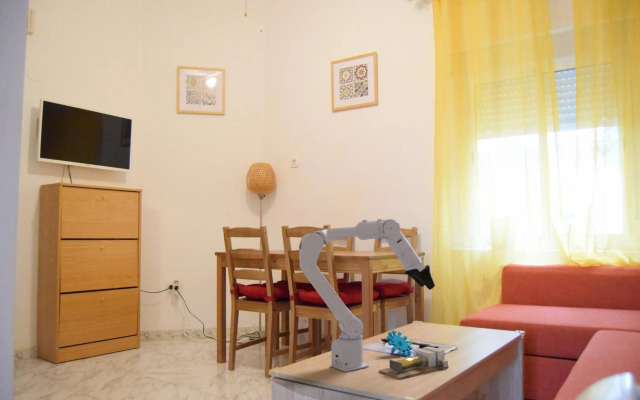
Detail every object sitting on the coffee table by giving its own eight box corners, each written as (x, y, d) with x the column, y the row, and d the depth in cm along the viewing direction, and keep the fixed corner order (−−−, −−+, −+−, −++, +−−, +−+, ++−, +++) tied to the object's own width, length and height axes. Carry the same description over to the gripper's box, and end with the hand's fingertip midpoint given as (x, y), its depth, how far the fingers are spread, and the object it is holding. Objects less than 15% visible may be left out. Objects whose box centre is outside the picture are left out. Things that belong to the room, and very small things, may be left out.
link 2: (442, 367, 145) (441, 352, 145) (422, 362, 151) (422, 347, 152) (449, 365, 146) (448, 351, 147) (429, 360, 153) (429, 346, 153)
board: (400, 379, 135) (400, 375, 135) (378, 372, 143) (378, 368, 143) (448, 367, 147) (448, 363, 147) (426, 361, 154) (426, 357, 154)
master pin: (400, 371, 139) (399, 362, 139) (389, 368, 142) (389, 359, 142) (424, 366, 144) (423, 357, 144) (413, 363, 148) (413, 354, 148)
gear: (396, 354, 158) (384, 328, 165) (387, 364, 160) (375, 339, 167) (421, 354, 163) (408, 329, 170) (411, 364, 166) (399, 339, 173)
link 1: (428, 368, 144) (428, 353, 144) (409, 363, 150) (409, 348, 151) (435, 366, 146) (435, 352, 146) (416, 361, 152) (416, 347, 152)
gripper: (421, 245, 148) (446, 281, 148) (407, 244, 162) (430, 277, 163) (403, 258, 147) (428, 295, 147) (390, 256, 161) (413, 289, 162)
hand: (428, 286), depth 155 cm, fingers open, 7 cm apart
